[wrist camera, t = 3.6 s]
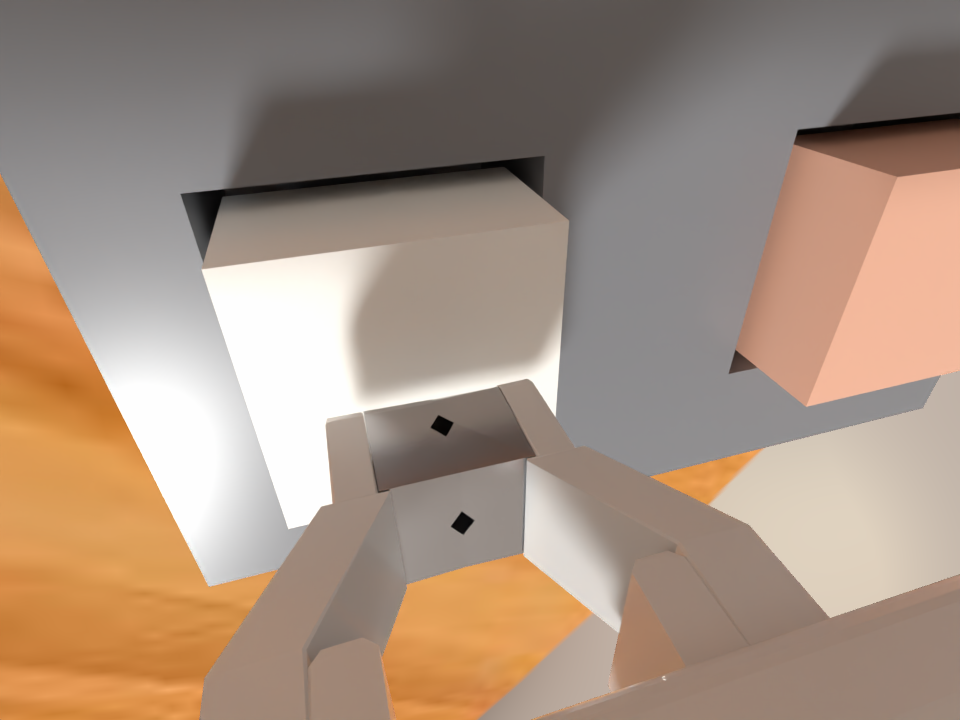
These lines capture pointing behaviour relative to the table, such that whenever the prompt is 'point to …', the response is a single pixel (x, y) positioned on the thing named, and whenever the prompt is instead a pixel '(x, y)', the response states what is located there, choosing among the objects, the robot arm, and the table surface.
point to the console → (443, 149)
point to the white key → (381, 304)
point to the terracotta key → (861, 264)
